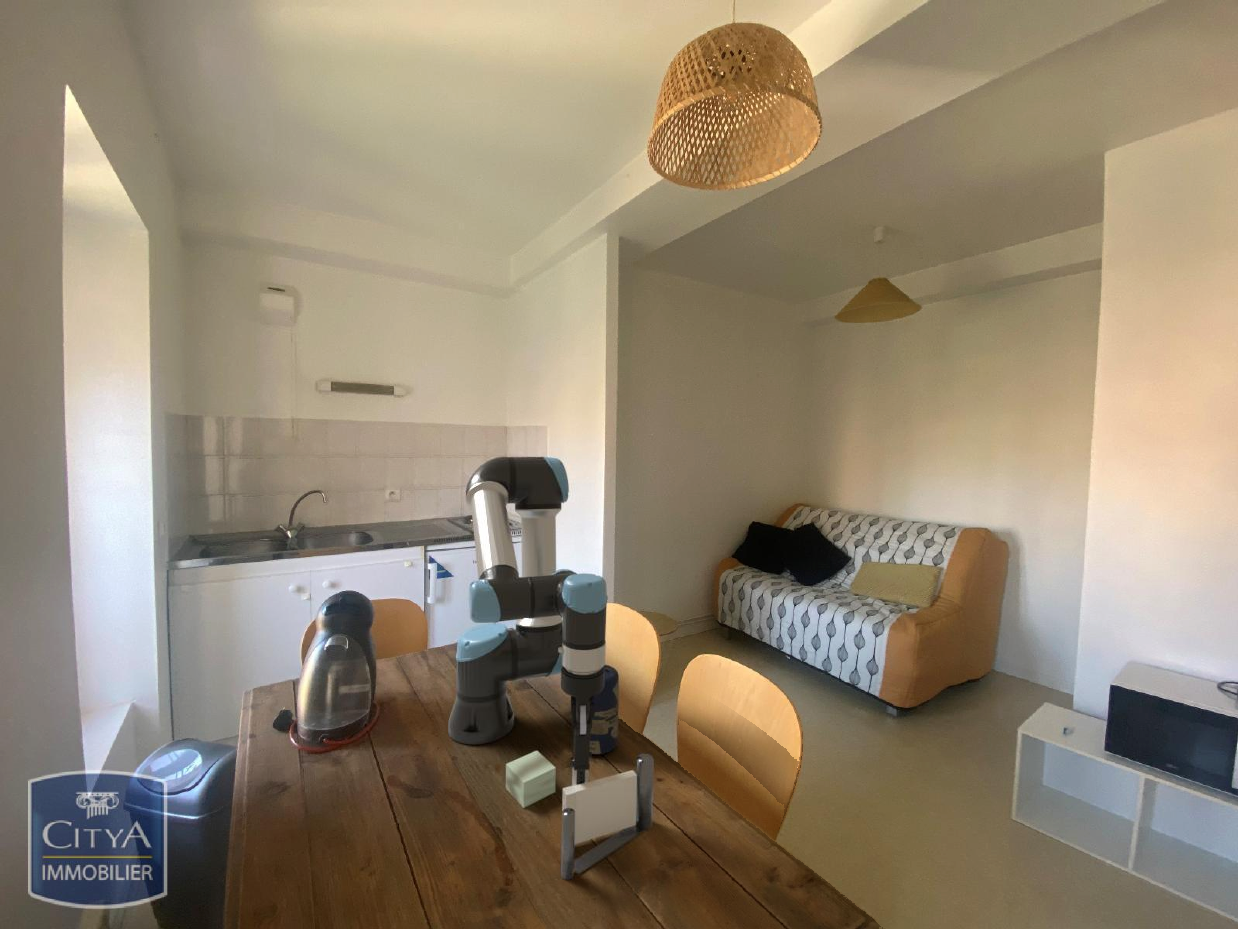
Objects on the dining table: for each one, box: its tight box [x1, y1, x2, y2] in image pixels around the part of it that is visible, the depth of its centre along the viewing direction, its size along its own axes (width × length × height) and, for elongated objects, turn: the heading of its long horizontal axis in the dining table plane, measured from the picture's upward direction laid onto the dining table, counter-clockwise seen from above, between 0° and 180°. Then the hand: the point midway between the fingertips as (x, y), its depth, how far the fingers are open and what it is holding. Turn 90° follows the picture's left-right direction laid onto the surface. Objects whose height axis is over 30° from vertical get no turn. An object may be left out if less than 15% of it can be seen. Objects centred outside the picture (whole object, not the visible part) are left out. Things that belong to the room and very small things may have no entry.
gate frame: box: [560, 753, 655, 881], centre depth 84 cm, size 3×19×12 cm, turn 131°
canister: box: [590, 664, 620, 755], centre depth 112 cm, size 10×10×18 cm
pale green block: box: [505, 750, 557, 809], centre depth 98 cm, size 7×7×5 cm
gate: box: [561, 769, 637, 846], centre depth 86 cm, size 13×2×9 cm, turn 114°
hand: (579, 798), depth 87 cm, fingers closed
